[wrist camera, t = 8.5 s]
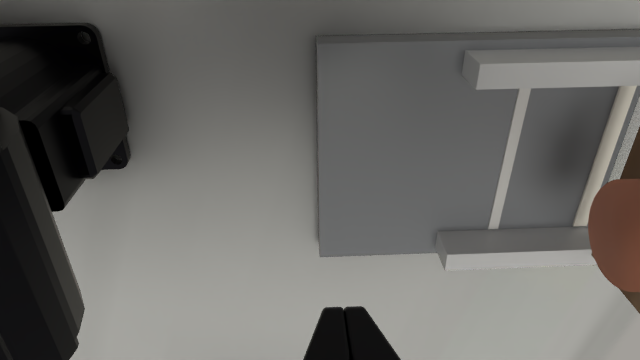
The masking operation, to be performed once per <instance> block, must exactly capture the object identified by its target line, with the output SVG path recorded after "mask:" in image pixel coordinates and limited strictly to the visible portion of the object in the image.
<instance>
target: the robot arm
mask: <svg viewBox="0 0 640 360" xmlns="http://www.w3.org/2000/svg"><path fill="white" fill-rule="evenodd" d="M81 32H86V33H87V34H89V36H90V38H91V42H87V41H85V40H84V39H83V38H82V36H81ZM128 131H129V127H128V123H127V119H126V115H125V110H124V106H123V102H122V98H121V94H120V90H119V86H118V82H117V78H116V77H115V76H114V75H113V74H111V73H110V72H109V68H108V64H107V60H106V56H105V52H104V48H103V44H102V40H101V36H100V33H99V31H98V30H97V29H96V28H95V27H94V26H93V25H91V24H88V23H55V24H3V25H0V360H69V359H70V358H71V357H72V355H73V354H74V352H75V351H76V349H77V348H78V345H79V342H78V339H77V335H78V333H79V330H80V326H81V322H82V318H83V314H84V310H85V308H84V304H83V300H82V296H81V292H80V289H79V286H78V283H77V280H76V278H75V275H74V272H73V269H72V267H71V264H70V261H69V258H68V256H67V253H66V250H65V247H64V245H63V242H62V239H61V236H60V233H59V231H58V228H57V225H56V222H55V220H54V217H53V214H52V212H53V211H61V210H63V209H64V208H65V206H66V205H67V204H68V202H69V201H70V200H71V198H72V197H73V195H74V194H75V193H76V191H77V190H78V189H79V187H80V186H81V185H82V183H83V182H84V181H85V179H94V178H95V177H96V176H97V174H98V173H99V172H100V171H101V170H105V169H122V168H124V167H126V165H127V164H128V162H129V160H130V152H129V148H128V144H127V140H126V136H125V135H126V134H127V133H128ZM114 155H119V156H120V157H121V158H122V160H117V159H116V158H115V157H114ZM303 360H401V359H400V358H399V357H398V355H397V354H396V352H395V351H394V349H393V348H392V347H391V345H390V344H389V342H388V341H387V339H386V338H385V337H384V335H383V334H382V332H381V331H380V329H379V328H378V326H377V325H376V324H375V322H374V321H373V319H372V318H371V316H370V315H369V314H368V312H367V311H366V309H365V308H364V307H361V306H359V307H346V308H344V310H343V308H341V307H326V308H324V309H323V311H322V313H321V316H320V318H319V321H318V323H317V326H316V328H315V331H314V333H313V336H312V339H311V341H310V344H309V346H308V349H307V351H306V354H305V356H304V359H303Z"/></svg>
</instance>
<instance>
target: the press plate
mask: <svg viewBox="0 0 640 360" xmlns="http://www.w3.org/2000/svg"><path fill="white" fill-rule="evenodd" d="M588 234H589V241H590V246H591V250H592V254H591V255H592V257H593V258H594V259H595V261H596V263H597V265H598V267H599V269H600V270H601V272H602V273H603V275H604V276H605V277H606V278H607V279H608V280H609V281H610V282H611V283H612V284H613V285H614V286H616V287H618V288H619V289H620V290H621V292H622V293H623V294H624V295H625V296H626V298H627V299H628V300H629V301H630V302H631V304H632V305H633V306H634V307H635V308H636V310H637V311H638V312H639V313H640V127H639V130H638V133H637V135H636V138H635V141H634V143H633V146H632V148H631V151H630V154H629V156H628V159H627V162H626V164H625V167H624V170H623V172H622V175H621V177H620V179H617V180H613V181H610V182H608V183H606V184H605V185H604V186H603V187H602V188H601V189H600V190H599V191H598V192H597V194H596V196H595V197H594V200H593V202H592V205H591V208H590V212H589V220H588Z"/></svg>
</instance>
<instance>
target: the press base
mask: <svg viewBox="0 0 640 360" xmlns="http://www.w3.org/2000/svg"><path fill="white" fill-rule="evenodd" d="M316 69H317V147H318V226H319V254H320V257H338V256H365V255H392V254H419V253H438V255H439V258H440V260H441V263H442V265H443V268H444V270H445V271H450V270H476V269H502V268H528V267H554V266H580V265H597V263H596V261H595V259H594V258H593V257H592V255H591V254H592V250H591V246H590V241H589V234H588V220H589V212H590V208H591V205H592V202H593V200H594V197H595V196H596V194H597V192H598V191H599V190H600V189H601V188H602V187H603V186H604V185H605V184H606V183H608V180H609V178H610V175H611V172H612V170H613V167H614V164H615V161H616V159H617V156H618V153H619V150H620V148H621V145H622V142H623V139H624V137H625V134H626V131H627V128H628V126H629V123H630V120H631V118H632V115H633V112H634V109H635V107H636V104H637V101H638V98H639V96H640V29H633V30H584V31H535V32H487V33H438V34H389V35H340V36H316Z"/></svg>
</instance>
